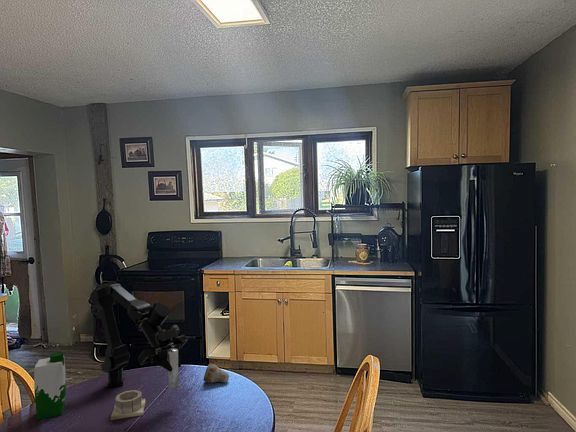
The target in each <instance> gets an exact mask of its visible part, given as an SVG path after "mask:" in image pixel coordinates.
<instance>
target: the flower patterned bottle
mask: <svg viewBox="0 0 576 432" xmlns="http://www.w3.org/2000/svg"><path fill="white" fill-rule="evenodd" d="M229 378H230V374H229V372H227V371H224V370H222V369H220V368H219V367H218V366H217V365H216V364H214V363H209V364H208V365H207V367H206V369H205V372H204V375H203V382H205V383H208V384H210V383H211V384H212V383H218V382H219V383H227V382H228V381H229Z"/></svg>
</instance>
